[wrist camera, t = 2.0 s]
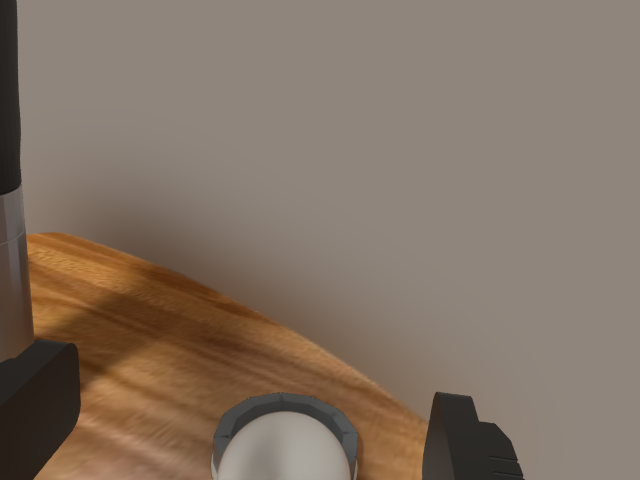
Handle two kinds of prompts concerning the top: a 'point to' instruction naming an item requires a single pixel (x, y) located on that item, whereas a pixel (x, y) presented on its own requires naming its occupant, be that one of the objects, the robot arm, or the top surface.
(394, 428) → the top surface
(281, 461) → the lightbulb
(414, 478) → the top surface
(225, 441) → the bulb holder
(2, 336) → the robot arm
